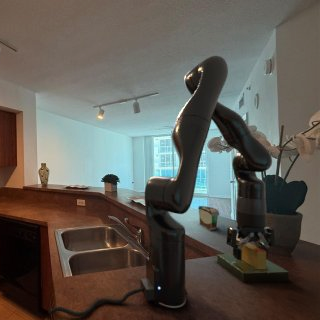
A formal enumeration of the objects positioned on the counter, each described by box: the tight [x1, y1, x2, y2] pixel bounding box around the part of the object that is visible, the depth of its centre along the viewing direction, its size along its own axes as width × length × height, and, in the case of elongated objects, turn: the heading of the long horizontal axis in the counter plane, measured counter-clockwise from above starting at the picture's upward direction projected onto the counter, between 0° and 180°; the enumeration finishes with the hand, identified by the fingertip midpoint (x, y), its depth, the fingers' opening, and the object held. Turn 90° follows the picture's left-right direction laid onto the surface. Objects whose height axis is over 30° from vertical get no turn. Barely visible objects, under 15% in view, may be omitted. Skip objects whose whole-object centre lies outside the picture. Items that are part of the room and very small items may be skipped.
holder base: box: [216, 253, 290, 284], centre depth 64 cm, size 14×12×3 cm
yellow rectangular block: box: [237, 242, 267, 269], centre depth 64 cm, size 8×3×6 cm, turn 2°
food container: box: [198, 205, 220, 232], centre depth 103 cm, size 12×6×10 cm, turn 179°
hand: (250, 258), depth 64 cm, fingers open, 8 cm apart
